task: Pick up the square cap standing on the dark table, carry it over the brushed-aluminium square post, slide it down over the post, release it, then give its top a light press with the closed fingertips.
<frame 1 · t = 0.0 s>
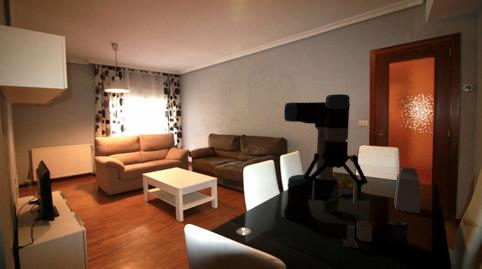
hand: (333, 200, 82), 28 cm above the table, fingers open, 13 cm apart
milk: (406, 208, 146), on the table
flask: (396, 242, 107), on the table
plant pot: (330, 211, 142), on the table
cap: (363, 238, 110), on the table
post: (350, 244, 105), on the table
fruit bowl: (343, 192, 176), on the table
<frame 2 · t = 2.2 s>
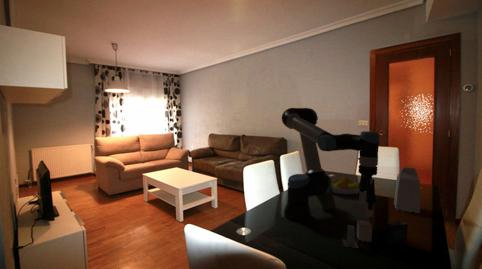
hand: (365, 210, 109), 14 cm above the table, fingers open, 13 cm apart
plant pot: (330, 209, 142), point 1 cm above the table, touching arm
everything else where it was.
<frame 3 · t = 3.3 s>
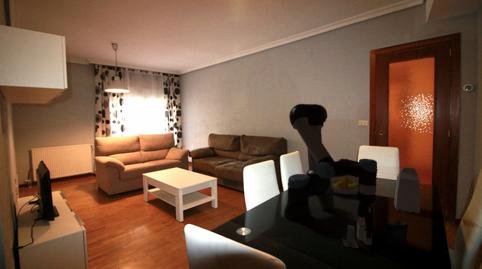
hand: (364, 236, 110), 1 cm above the table, fingers open, 13 cm apart
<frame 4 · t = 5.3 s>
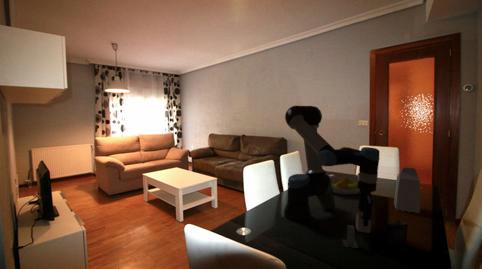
hand: (362, 228, 111), 4 cm above the table, fingers closed on cap, 5 cm apart
cap: (362, 229, 111), point 4 cm above the table, touching gripper
everything else where it was.
when the fingers open (2 cm above the table, at t = 9.6 s): cap stays where it is, resting on post.
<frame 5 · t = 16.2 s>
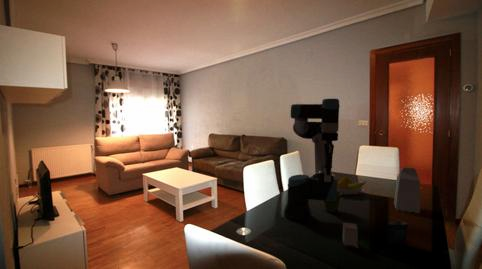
hand: (327, 181, 112), 26 cm above the table, fingers closed
plant pot: (331, 210, 142), on the table
cap: (349, 242, 105), point 1 cm above the table, touching post
everything else where it was.
at the end: cap 0.8 cm from the post (horizontally); cap point 1.2 cm above the table; cap tilted 0° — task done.
